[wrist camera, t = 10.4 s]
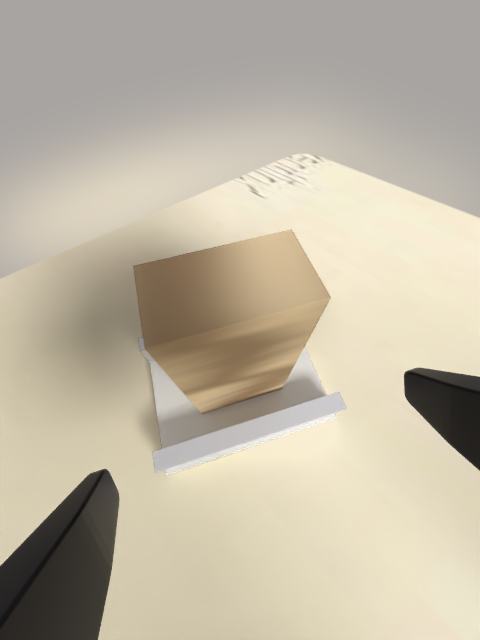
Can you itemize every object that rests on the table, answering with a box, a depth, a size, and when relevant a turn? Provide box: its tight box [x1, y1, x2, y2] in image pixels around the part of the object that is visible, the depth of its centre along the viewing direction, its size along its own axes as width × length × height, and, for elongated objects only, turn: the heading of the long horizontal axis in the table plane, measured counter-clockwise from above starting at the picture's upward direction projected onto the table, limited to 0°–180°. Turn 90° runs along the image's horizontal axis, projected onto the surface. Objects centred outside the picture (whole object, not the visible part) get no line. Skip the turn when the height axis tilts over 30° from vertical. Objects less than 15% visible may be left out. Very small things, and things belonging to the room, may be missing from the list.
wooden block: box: [133, 229, 331, 414], centre depth 13 cm, size 6×3×11 cm, turn 107°
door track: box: [138, 337, 347, 475], centre depth 17 cm, size 11×8×3 cm
